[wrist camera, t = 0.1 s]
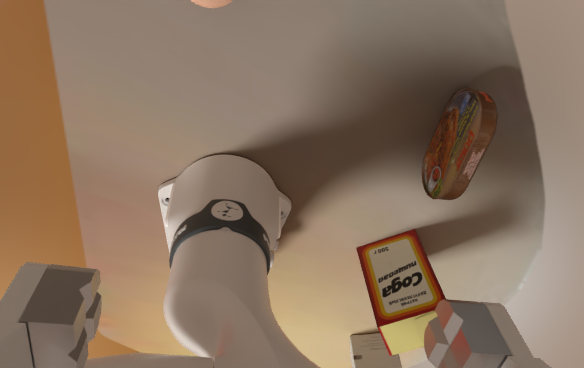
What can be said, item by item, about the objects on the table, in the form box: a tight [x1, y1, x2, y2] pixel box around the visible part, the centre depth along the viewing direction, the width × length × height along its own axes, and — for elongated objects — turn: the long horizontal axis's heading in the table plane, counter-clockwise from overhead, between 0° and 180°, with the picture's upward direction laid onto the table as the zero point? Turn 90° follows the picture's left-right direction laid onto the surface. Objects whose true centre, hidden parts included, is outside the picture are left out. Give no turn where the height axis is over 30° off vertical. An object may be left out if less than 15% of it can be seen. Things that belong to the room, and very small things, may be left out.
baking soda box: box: [357, 229, 446, 356], centre depth 69 cm, size 10×6×16 cm
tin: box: [422, 88, 497, 200], centre depth 60 cm, size 15×3×8 cm, turn 166°
